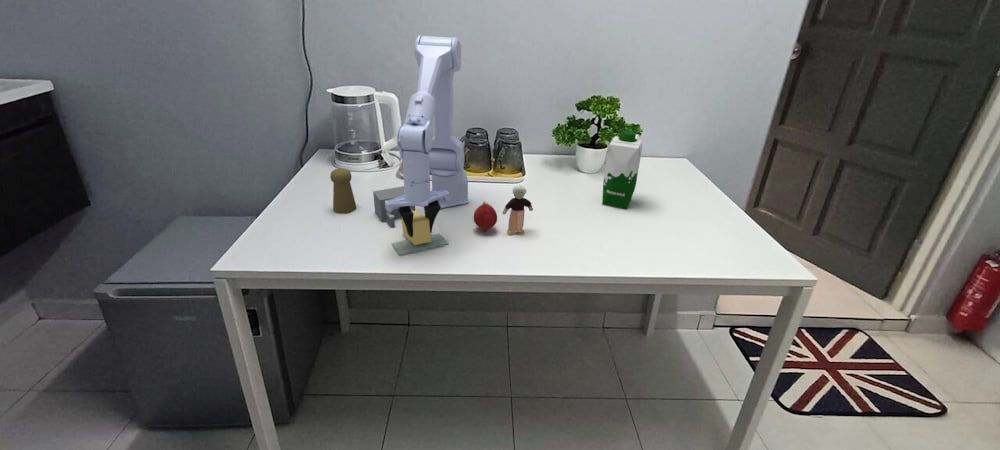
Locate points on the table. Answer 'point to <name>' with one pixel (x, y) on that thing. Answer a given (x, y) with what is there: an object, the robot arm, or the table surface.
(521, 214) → the grandmother figurine
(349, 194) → the cork
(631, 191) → the milk carton
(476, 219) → the onion
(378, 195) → the grey boxy piece
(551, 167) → the table surface
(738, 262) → the table surface
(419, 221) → the tall tan block
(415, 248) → the mat
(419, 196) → the robot arm
